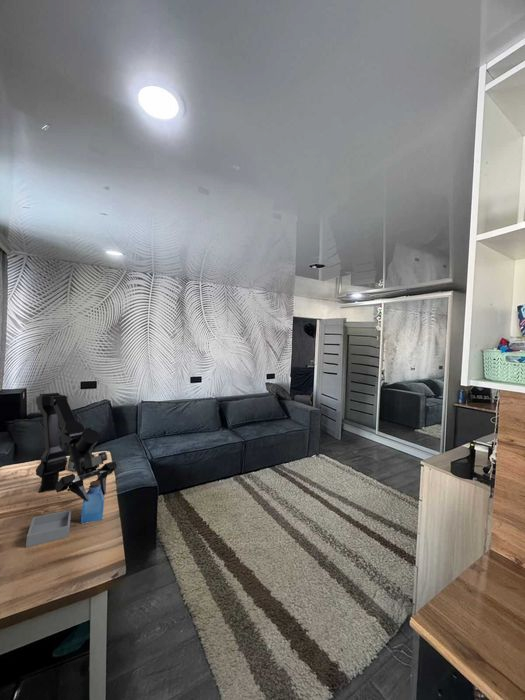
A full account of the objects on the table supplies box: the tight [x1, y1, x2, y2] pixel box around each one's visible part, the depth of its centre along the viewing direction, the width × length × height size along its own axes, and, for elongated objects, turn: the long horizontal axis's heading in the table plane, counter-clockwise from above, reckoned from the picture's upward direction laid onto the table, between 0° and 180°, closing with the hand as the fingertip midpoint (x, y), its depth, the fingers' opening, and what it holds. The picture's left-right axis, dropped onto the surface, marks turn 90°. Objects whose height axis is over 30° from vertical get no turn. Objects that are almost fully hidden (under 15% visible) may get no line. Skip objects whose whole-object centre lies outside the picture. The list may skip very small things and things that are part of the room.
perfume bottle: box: [80, 479, 105, 524], centre depth 95 cm, size 6×6×12 cm
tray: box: [25, 509, 72, 549], centre depth 86 cm, size 10×10×3 cm
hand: (96, 497), depth 94 cm, fingers closed on perfume bottle, 5 cm apart
